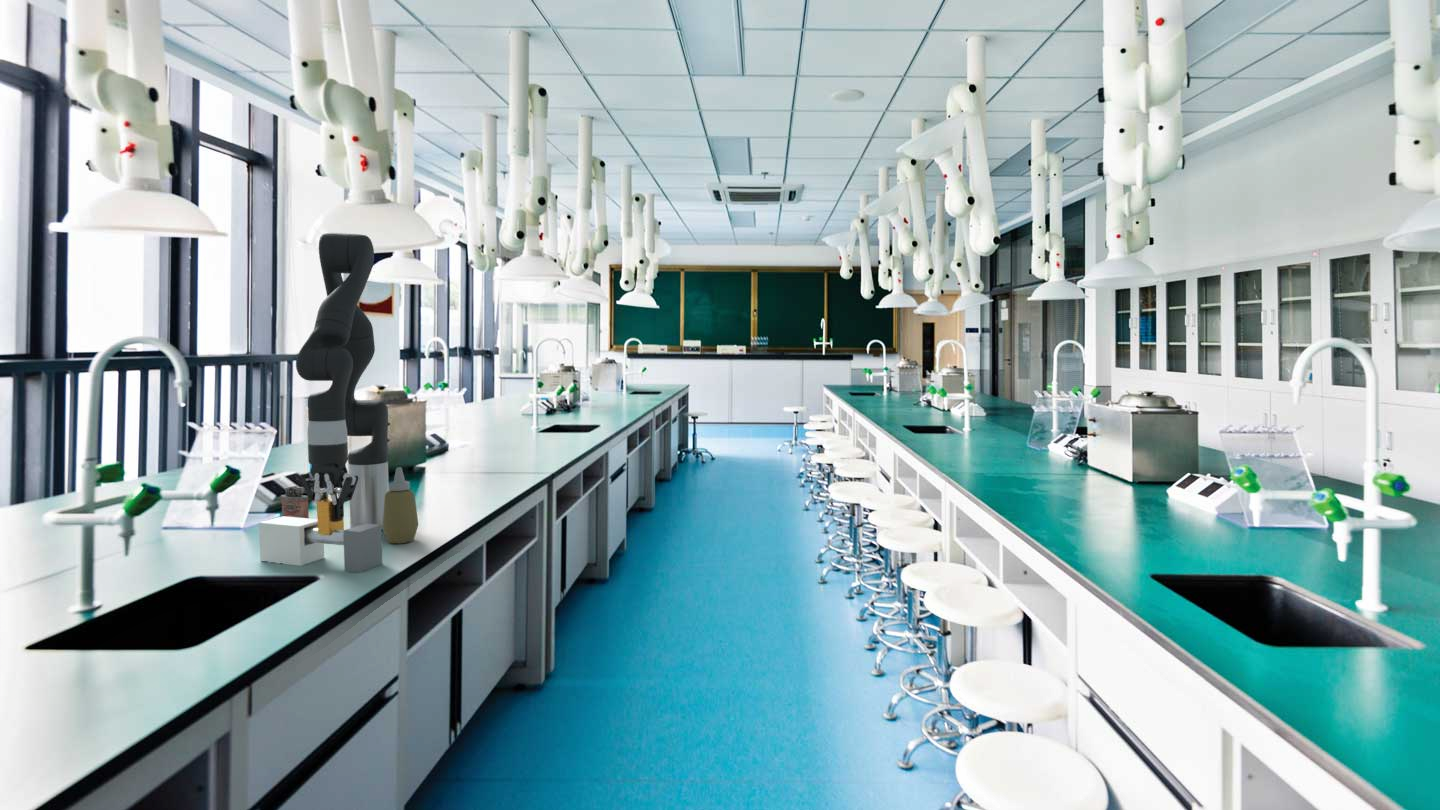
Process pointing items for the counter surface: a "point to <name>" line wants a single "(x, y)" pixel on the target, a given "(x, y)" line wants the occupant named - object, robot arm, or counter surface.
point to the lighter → (295, 502)
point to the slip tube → (325, 526)
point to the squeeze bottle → (400, 511)
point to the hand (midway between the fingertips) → (330, 520)
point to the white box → (288, 541)
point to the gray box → (362, 547)
